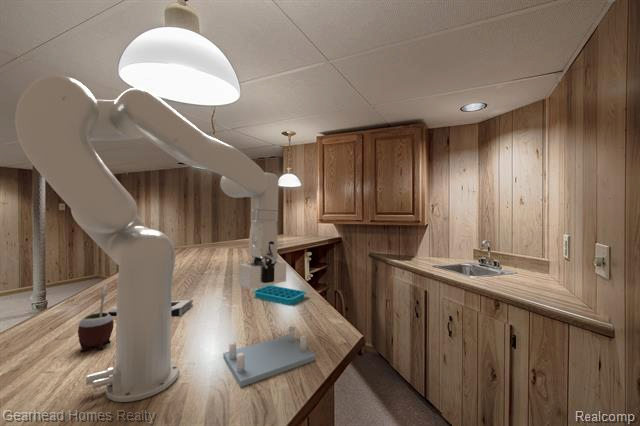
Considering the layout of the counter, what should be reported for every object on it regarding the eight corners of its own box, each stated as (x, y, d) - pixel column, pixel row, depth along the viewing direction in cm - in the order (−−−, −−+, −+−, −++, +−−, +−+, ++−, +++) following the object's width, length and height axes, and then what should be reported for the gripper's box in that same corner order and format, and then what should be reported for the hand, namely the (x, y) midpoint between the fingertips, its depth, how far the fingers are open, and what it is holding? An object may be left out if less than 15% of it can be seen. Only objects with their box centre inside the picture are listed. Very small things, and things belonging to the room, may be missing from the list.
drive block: (249, 288, 70) (250, 267, 70) (238, 284, 74) (238, 263, 74) (285, 281, 78) (286, 262, 79) (273, 277, 83) (274, 259, 83)
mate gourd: (85, 357, 65) (85, 294, 64) (71, 348, 68) (72, 289, 68) (120, 344, 71) (121, 287, 71) (106, 337, 75) (106, 283, 75)
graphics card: (182, 308, 90) (106, 307, 90) (182, 318, 90) (106, 317, 90) (195, 298, 100) (127, 297, 100) (195, 307, 100) (127, 306, 100)
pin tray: (240, 387, 54) (240, 364, 54) (223, 357, 65) (223, 338, 65) (314, 360, 64) (315, 340, 64) (289, 338, 75) (289, 322, 75)
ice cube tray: (269, 291, 121) (269, 284, 121) (307, 299, 111) (307, 291, 111) (251, 298, 110) (251, 291, 110) (291, 307, 101) (291, 299, 101)
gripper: (240, 216, 81) (239, 275, 81) (264, 217, 67) (263, 288, 67) (264, 216, 86) (262, 272, 86) (290, 217, 72) (289, 284, 71)
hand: (262, 279), depth 76 cm, fingers closed on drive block, 6 cm apart
